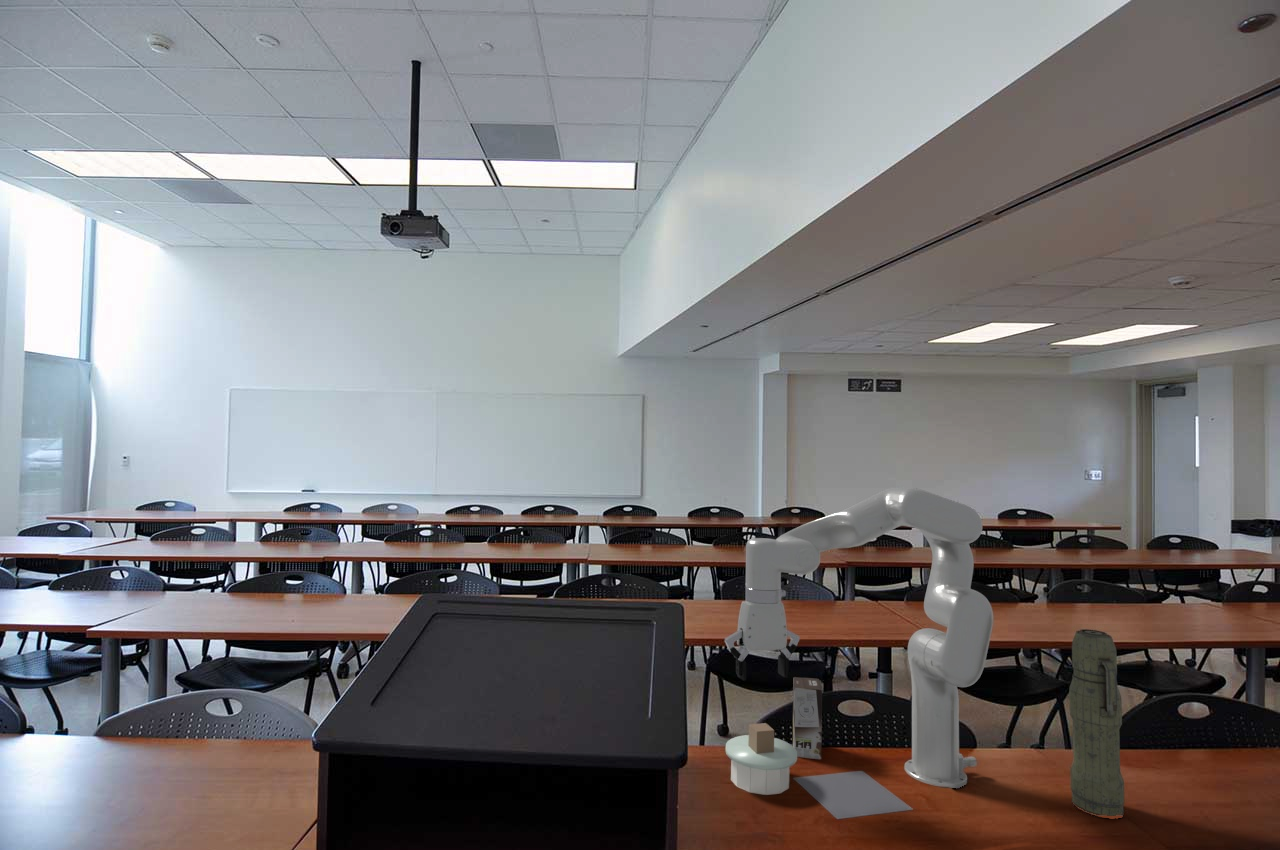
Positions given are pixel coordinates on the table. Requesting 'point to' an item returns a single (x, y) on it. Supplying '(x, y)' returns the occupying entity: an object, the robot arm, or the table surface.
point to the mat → (851, 794)
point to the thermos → (1096, 725)
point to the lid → (761, 749)
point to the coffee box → (807, 717)
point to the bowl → (759, 779)
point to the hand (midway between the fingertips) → (762, 677)
